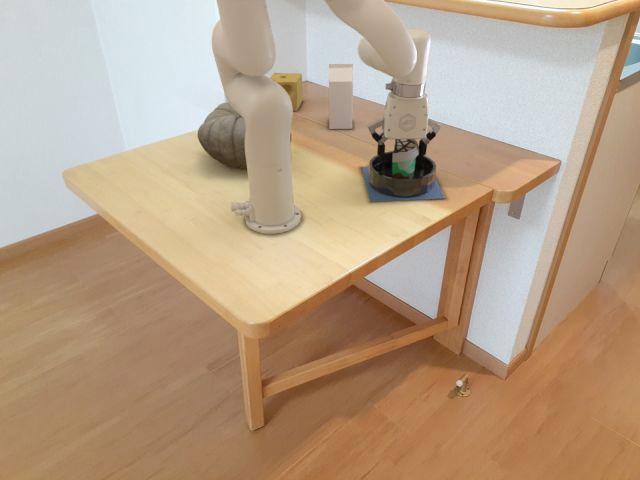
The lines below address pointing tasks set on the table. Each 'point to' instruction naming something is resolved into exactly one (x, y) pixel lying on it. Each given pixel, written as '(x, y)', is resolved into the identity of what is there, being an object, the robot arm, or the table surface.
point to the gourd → (224, 136)
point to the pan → (401, 188)
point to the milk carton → (340, 96)
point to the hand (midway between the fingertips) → (401, 157)
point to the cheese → (290, 86)
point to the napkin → (379, 197)
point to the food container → (404, 158)
